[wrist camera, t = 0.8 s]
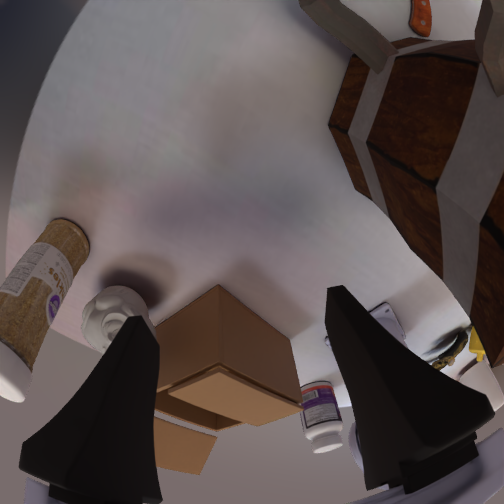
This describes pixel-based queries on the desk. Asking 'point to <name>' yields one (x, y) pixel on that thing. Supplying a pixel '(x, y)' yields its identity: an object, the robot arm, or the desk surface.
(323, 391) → the pill bottle
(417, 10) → the white curved piece
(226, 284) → the desk surface
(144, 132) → the desk surface
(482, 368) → the cup
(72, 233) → the sprinkles bottle
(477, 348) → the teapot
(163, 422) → the cardboard box flap
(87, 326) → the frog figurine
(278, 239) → the desk surface
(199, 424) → the cardboard box
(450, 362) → the toy snake
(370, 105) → the mug
